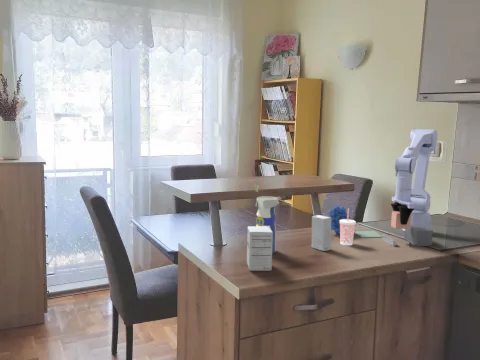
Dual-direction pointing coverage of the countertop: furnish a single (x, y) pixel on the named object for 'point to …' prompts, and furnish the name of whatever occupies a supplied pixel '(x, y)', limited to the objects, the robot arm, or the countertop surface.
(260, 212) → the spray bottle
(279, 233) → the countertop surface
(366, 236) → the mat
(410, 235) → the gray rectangular block
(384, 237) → the bar
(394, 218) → the salmon pink block
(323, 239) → the skincare box
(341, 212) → the grapes
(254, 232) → the supplement box
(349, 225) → the beverage cup
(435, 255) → the countertop surface
